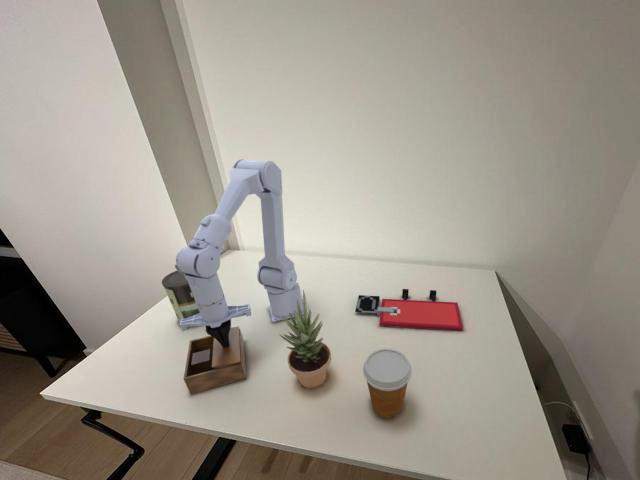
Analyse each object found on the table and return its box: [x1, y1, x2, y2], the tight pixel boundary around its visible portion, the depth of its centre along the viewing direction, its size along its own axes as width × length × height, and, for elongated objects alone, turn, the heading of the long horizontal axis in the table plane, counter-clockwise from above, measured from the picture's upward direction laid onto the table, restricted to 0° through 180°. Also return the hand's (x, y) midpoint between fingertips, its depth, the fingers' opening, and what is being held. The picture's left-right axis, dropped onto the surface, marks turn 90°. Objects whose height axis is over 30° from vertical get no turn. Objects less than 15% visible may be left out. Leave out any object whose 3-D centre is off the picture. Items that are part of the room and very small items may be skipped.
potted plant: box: [279, 289, 332, 389], centre depth 68 cm, size 10×10×25 cm
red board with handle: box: [354, 288, 464, 332], centre depth 93 cm, size 30×3×15 cm
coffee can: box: [161, 270, 200, 325], centre depth 92 cm, size 10×10×14 cm
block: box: [191, 349, 214, 375], centre depth 76 cm, size 4×4×4 cm
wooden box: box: [183, 328, 247, 395], centre depth 77 cm, size 12×13×5 cm
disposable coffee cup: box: [362, 348, 413, 419], centre depth 64 cm, size 10×10×12 cm
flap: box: [212, 325, 240, 368], centre depth 76 cm, size 6×13×1 cm, turn 20°
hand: (226, 344), depth 76 cm, fingers closed
